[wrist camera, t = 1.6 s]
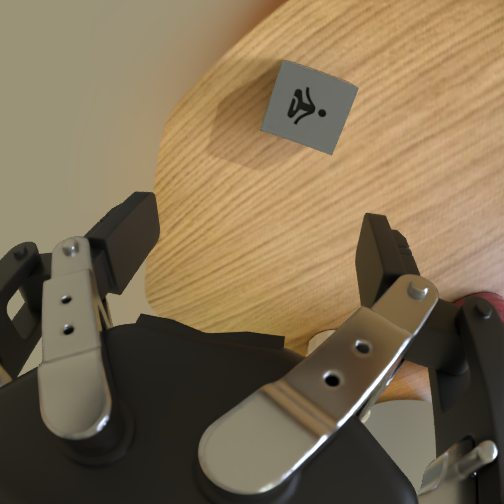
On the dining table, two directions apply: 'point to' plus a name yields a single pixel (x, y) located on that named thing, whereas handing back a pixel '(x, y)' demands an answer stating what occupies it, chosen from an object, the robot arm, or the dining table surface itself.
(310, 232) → the dining table surface
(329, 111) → the dice cube
